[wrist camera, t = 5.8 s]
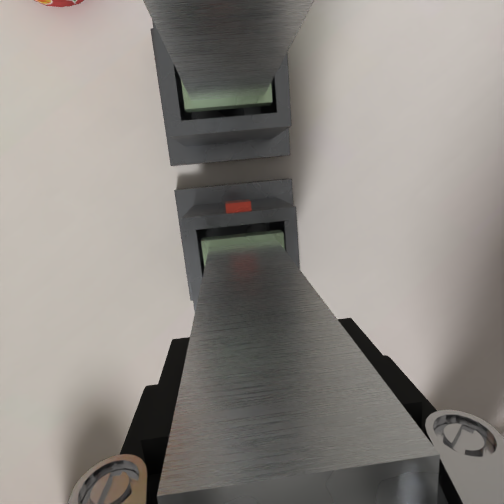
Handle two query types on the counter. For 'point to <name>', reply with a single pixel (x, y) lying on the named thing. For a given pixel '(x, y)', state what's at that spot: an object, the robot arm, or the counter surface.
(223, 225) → the stand sleeve
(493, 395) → the counter surface
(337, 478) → the column
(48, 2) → the smoothie
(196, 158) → the twin stand
